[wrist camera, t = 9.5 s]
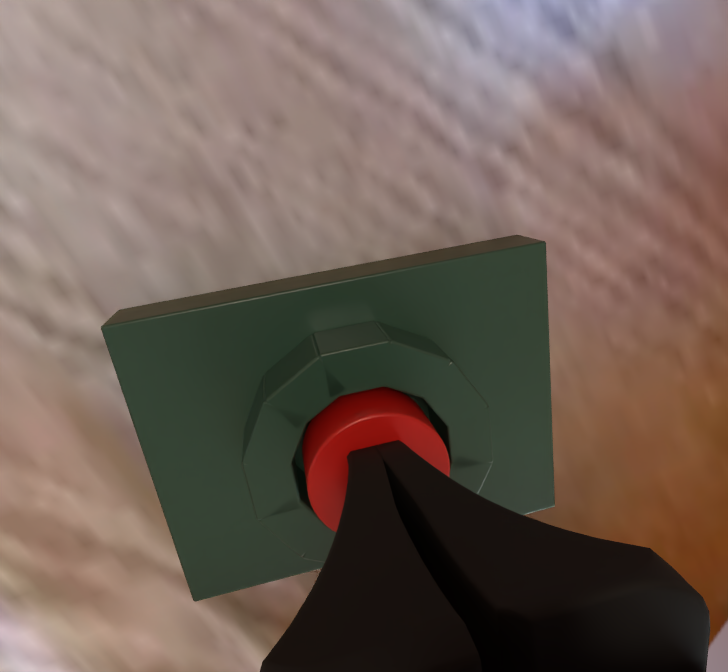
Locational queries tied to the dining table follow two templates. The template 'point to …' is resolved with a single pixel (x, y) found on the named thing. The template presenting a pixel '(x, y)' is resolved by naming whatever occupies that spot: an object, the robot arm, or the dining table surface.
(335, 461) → the button
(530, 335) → the control block
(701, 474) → the dining table surface
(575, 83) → the dining table surface
